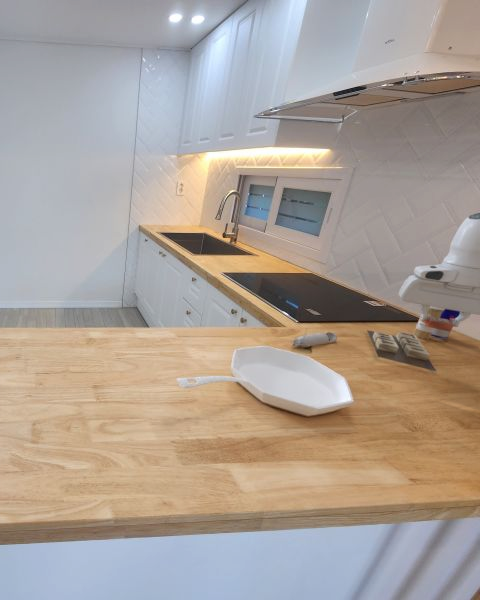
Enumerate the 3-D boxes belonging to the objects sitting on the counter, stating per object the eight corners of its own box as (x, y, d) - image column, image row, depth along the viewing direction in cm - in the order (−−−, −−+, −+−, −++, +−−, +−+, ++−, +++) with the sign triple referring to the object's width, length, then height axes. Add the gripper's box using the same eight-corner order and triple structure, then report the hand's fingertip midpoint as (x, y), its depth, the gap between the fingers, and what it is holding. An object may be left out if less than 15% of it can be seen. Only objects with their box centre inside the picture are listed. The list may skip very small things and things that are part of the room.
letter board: (414, 343, 112) (415, 340, 112) (435, 373, 94) (437, 371, 94) (366, 332, 118) (366, 330, 118) (377, 358, 100) (378, 356, 100)
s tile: (444, 325, 94) (448, 319, 94) (450, 331, 91) (453, 324, 90) (423, 321, 96) (426, 314, 96) (427, 327, 93) (431, 320, 92)
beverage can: (431, 339, 115) (451, 298, 110) (420, 332, 120) (438, 293, 115) (450, 342, 114) (471, 301, 108) (438, 334, 119) (458, 295, 113)
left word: (389, 340, 111) (392, 335, 110) (396, 353, 103) (399, 347, 102) (372, 336, 113) (374, 331, 112) (377, 348, 105) (380, 342, 104)
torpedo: (324, 338, 112) (331, 320, 109) (339, 345, 108) (346, 326, 105) (284, 344, 106) (290, 326, 103) (298, 352, 102) (304, 333, 99)
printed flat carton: (413, 340, 112) (415, 334, 111) (426, 360, 99) (430, 354, 99) (395, 336, 114) (398, 331, 113) (406, 355, 101) (409, 349, 101)
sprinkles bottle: (414, 339, 114) (431, 303, 109) (408, 334, 118) (425, 298, 113) (431, 342, 113) (450, 306, 108) (425, 337, 117) (442, 301, 112)
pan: (371, 412, 77) (382, 389, 75) (211, 447, 64) (218, 421, 62) (280, 355, 100) (286, 336, 97) (149, 373, 87) (152, 352, 85)
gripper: (513, 280, 86) (486, 329, 91) (408, 265, 95) (389, 310, 101) (526, 287, 81) (496, 338, 86) (413, 270, 90) (393, 317, 96)
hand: (437, 322), depth 93 cm, fingers closed on s tile, 4 cm apart
